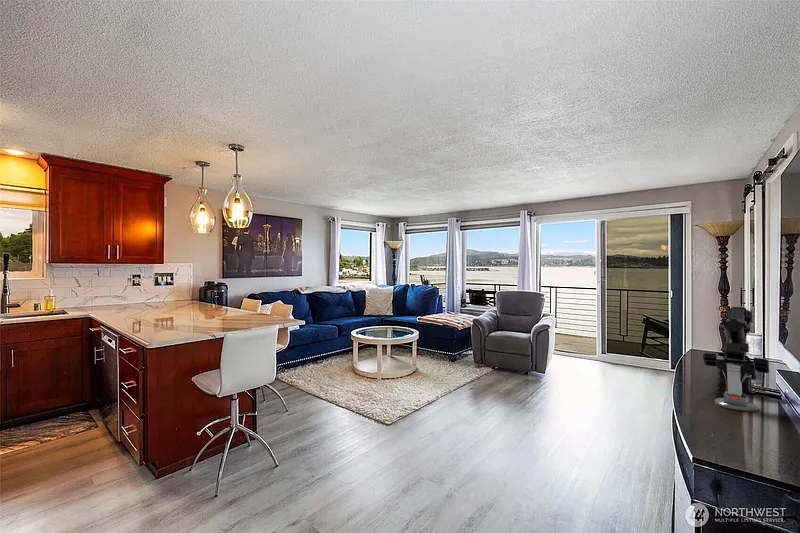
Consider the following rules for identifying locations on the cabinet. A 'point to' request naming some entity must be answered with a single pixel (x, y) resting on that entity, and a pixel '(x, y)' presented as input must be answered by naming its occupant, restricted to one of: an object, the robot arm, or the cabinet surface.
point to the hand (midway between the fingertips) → (734, 380)
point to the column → (734, 379)
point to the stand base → (736, 403)
